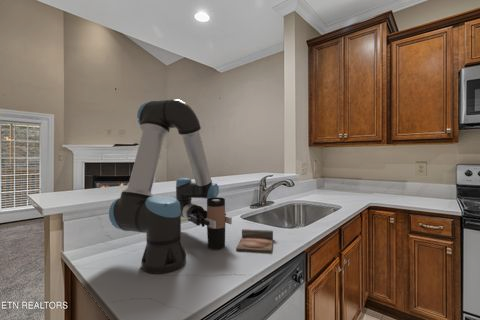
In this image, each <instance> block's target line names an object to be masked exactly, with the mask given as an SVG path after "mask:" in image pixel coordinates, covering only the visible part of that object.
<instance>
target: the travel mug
mask: <svg viewBox="0 0 480 320" xmlns="http://www.w3.org/2000/svg"><path fill="white" fill-rule="evenodd" d="M206 211H207V218H208V219H211V220H213V221H216V228H215V229H214V228H212V227H209V226H207V225H206V231H207V233H206V234H207V236H206V237H207V247H208V249H209V250H213V251H216V250H217V251H218V250H222V249H224V248H225V246H226V223H225V213H226V198H224V197H218V196H217V197H216V198H208V199H206Z"/></svg>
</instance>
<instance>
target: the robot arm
mask: <svg viewBox="0 0 480 320" xmlns="http://www.w3.org/2000/svg"><path fill="white" fill-rule="evenodd" d="M136 118H137V119H138V120H137V122H138V124H139V128H140V130H141V132H142V134H141V138H140V141H139V145H138V149H137V152H136V156H135V159H134V164H133V167H132V170H131V174H130V177H129V181H128V185H127V188H125V189H123V190H122V191H121V193H120V197H119V198H116V199H115V200H114V201H112V203H111V204H110V207H109V210H108V219H109V222H110V223H111V225H112V226H113V227H114V228H116V229H117V230H121V231H124V232H137V233H143V234H146V235H145V236H146V238H145V239H146V244H145V248H144V250H143V251H144V252H143V255H142V257H141V269H142V271H143V272H146V273H148V274H156V275H157V274H158V275H160V274H166V273H170V272H174V271H177V270H179V269H181V268H183V267H184V266H185V265H186V263H187V253H186V251H185V248H184V245H183V242H182V225H181V224H182V222H181V221H182V218H184V219H187V221H188V222H191V223H192V224H195V225H196V226H199V227H200V226H201V228H203V227H204V228H205V226H206V227H207V226H209V227H212V228H214V229H215V228H216V221H213V220H211V219H208V218H207V209H206V210H205V209H204V207H202V206H200V205H197V204H194V203H192V198H193V199H206V200H207V199H208V198H216V197H218V196H219V193H220V187H219V185H218V183H215V182H213V180H212V177H211V173H210V168H209V166H208V162H207V157H206V154H205V150H204V149H205V148H204V145H203V142H202V141H203V140H202V138H201V134H200V133H201V132H200V131H201V130H202V127H201V123H200V121H199V119H198V116H197V114H196V112H195V111H194V110H193V109H192V107H191V106H190V105H188V103H186V102H184V101H182V100H181V99H177V98H172V99H165V100H151V101H146V102H144V103H143V104H141V105H140V106H139V108H138V110H137V113H136ZM174 128H175V129H176V130H177V132H178V135H180V136H181V137H182V141H183V143H184V148H185V151H186V154H187V158H188V160H189V165H190V167H191V172H192V175H193V178H194V182H192V178H189V177H180V178H177V179H176V180H175V181H176V182H175V185H176V186H175V197H172V196H168V195H153V194H152V190H153V189H152V188H153V185H154V181H155V176H156V172H157V168H158V164H159V160H160V155H161V151H162V147H163V143H164V140H165V139H164V138H166V137H167V136H169V134H170V131H171V129H174ZM225 224H229V225H233V217H232V216H228V215H227V213H226V212H225Z"/></svg>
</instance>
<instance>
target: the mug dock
mask: <svg viewBox="0 0 480 320" xmlns="http://www.w3.org/2000/svg"><path fill="white" fill-rule="evenodd" d="M273 241H274V230H266V229H249V228H248V229H246V228H244V229H243V228H242V229H241V238H240V239H239V242H238V244H237V246H236V248H235V251H237V252H248V253H249V252H250V253H261V254H262V253H263V254H272V250H273V243H274V242H273Z"/></svg>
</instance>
